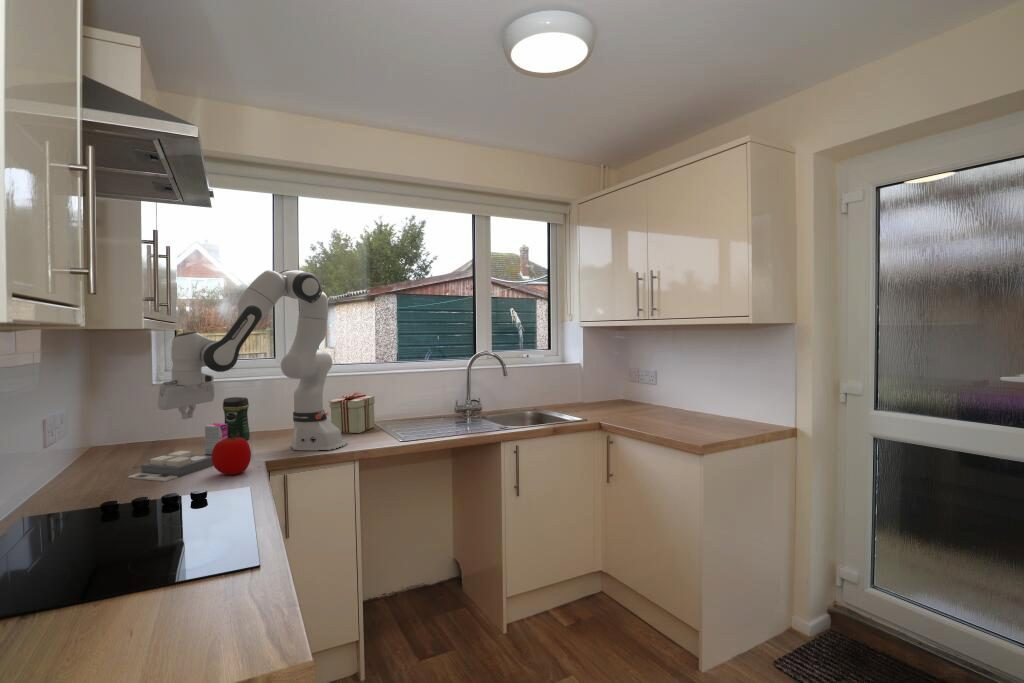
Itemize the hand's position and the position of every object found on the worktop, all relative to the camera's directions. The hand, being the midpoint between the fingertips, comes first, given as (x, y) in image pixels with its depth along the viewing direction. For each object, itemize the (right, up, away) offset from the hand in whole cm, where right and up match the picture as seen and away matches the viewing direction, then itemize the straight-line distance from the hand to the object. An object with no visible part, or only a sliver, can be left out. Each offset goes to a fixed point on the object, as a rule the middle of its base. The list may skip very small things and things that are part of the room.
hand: (187, 418), depth 181 cm
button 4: (+2, -17, +2) cm, 17 cm away
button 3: (-5, -15, +4) cm, 16 cm away
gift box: (+37, -15, +63) cm, 74 cm away
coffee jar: (-5, -16, +43) cm, 46 cm away
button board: (-3, -18, -2) cm, 18 cm away
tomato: (+19, -18, -6) cm, 27 cm away
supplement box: (-1, -17, +20) cm, 26 cm away
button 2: (0, -16, -4) cm, 16 cm away
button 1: (-7, -16, -3) cm, 17 cm away
